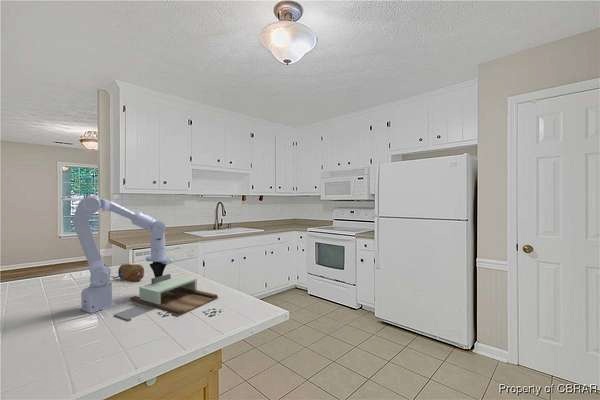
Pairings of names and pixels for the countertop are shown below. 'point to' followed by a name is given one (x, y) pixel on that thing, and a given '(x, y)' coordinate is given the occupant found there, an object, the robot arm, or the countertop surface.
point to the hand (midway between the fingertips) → (158, 279)
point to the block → (165, 293)
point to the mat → (132, 312)
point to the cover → (165, 287)
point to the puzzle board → (179, 300)
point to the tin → (131, 272)
